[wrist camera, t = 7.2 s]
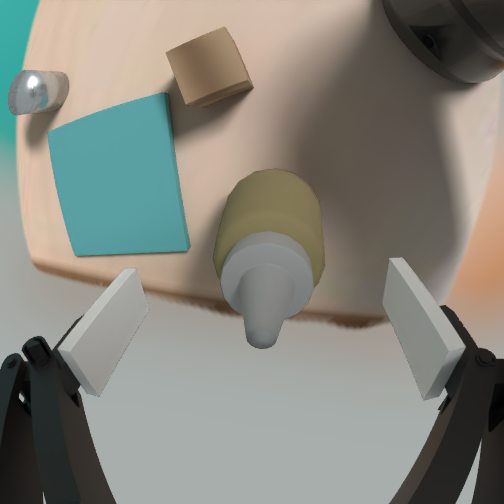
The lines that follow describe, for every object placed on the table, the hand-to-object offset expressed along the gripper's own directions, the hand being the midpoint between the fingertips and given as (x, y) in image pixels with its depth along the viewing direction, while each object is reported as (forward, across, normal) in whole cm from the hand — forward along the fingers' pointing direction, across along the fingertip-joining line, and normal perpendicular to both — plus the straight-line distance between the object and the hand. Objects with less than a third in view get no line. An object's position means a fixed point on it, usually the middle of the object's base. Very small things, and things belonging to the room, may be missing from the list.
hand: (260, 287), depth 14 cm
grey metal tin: (+14, +24, -17) cm, 33 cm away
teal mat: (+14, +16, -4) cm, 22 cm away
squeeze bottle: (+14, 0, 0) cm, 14 cm away
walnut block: (+14, +4, -13) cm, 20 cm away
